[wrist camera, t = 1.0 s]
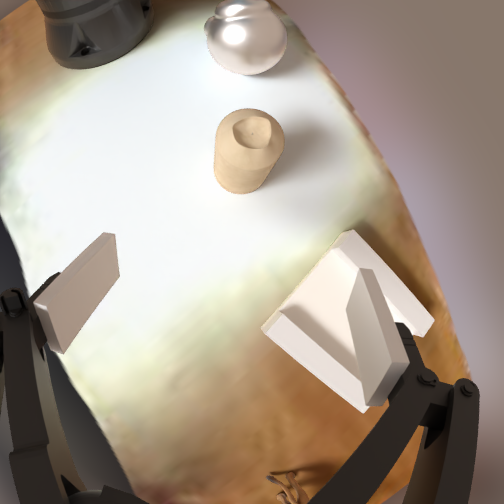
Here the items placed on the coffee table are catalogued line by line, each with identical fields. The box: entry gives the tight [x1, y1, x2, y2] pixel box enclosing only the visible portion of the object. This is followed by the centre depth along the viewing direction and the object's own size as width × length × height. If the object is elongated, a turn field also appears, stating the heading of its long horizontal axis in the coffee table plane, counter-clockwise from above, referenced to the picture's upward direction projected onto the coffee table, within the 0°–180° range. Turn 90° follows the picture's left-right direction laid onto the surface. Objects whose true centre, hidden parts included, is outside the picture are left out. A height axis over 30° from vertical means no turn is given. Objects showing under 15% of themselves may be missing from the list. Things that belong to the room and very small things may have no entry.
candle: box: [214, 109, 285, 194], centre depth 27 cm, size 6×6×10 cm
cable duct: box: [260, 229, 434, 414], centre depth 32 cm, size 15×13×3 cm
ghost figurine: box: [204, 0, 288, 75], centre depth 28 cm, size 9×10×10 cm
